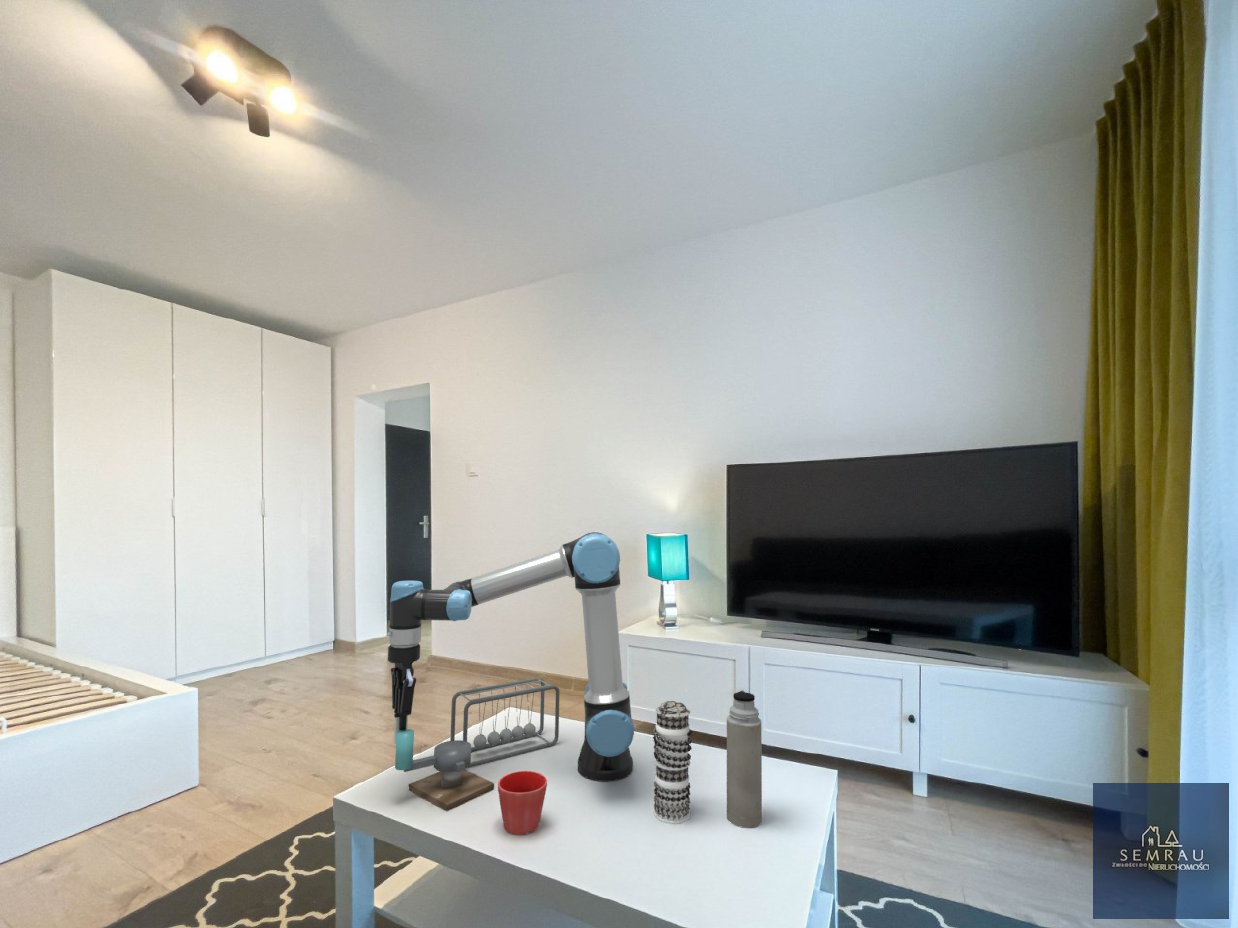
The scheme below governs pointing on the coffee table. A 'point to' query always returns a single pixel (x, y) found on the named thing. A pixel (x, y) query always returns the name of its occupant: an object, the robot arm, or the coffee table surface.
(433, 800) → the post board
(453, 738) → the newton's cradle
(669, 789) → the decorative candle
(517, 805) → the flower pot
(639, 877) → the coffee table surface
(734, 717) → the thermos bottle
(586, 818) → the coffee table surface
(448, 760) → the crank handle
